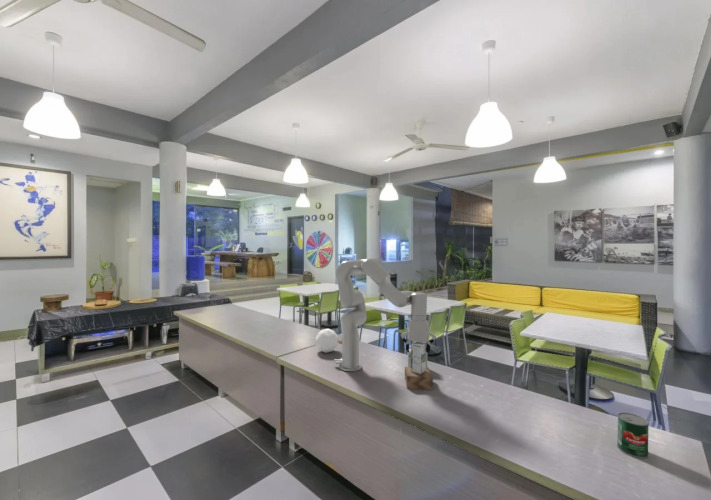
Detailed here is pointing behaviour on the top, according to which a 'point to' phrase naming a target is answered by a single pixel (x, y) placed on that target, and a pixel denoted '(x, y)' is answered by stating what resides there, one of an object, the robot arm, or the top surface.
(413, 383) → the walnut block
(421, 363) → the syrup box
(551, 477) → the top surface
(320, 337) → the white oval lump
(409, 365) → the light bulb box
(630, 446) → the canned tomato
